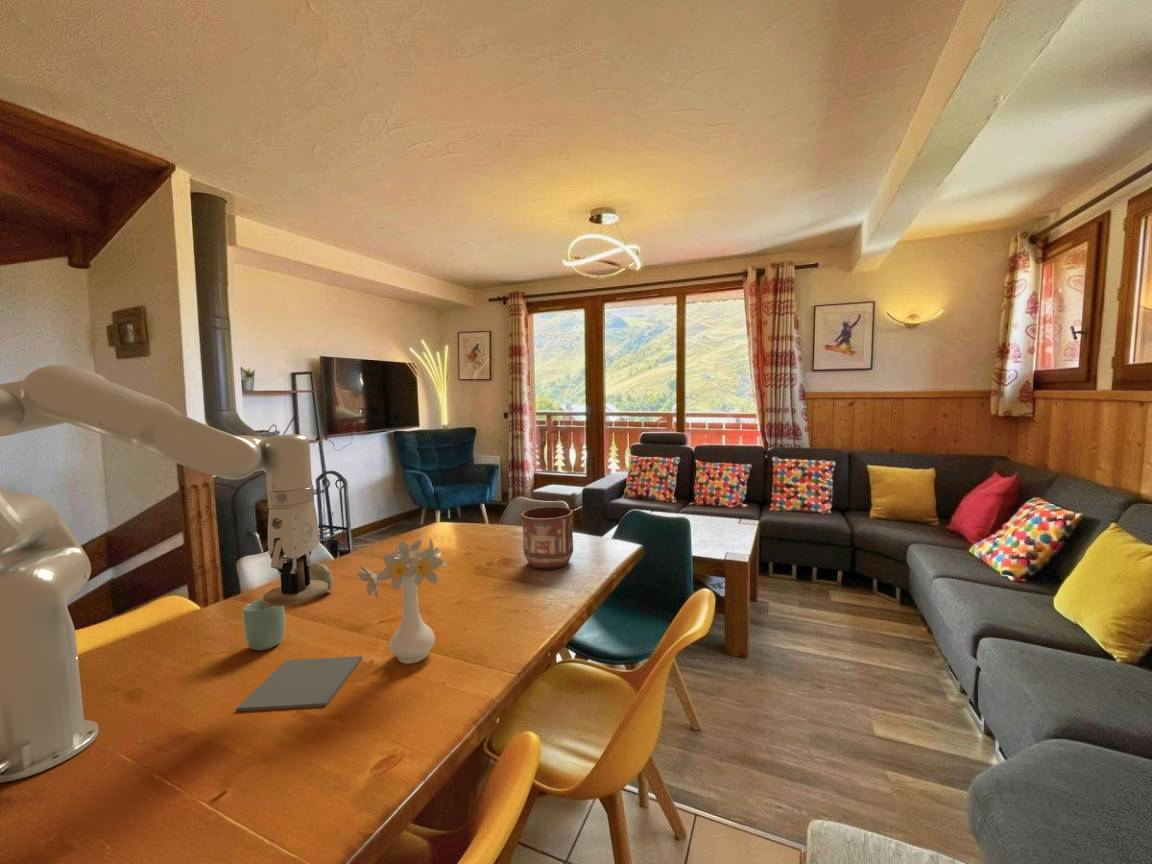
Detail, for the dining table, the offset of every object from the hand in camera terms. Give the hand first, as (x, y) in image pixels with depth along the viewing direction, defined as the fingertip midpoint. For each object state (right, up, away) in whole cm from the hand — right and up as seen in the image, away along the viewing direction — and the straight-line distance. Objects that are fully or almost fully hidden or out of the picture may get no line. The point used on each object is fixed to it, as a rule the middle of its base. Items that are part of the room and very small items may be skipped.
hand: (296, 588), depth 92 cm
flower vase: (+20, -18, +8) cm, 28 cm away
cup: (-16, -19, +16) cm, 30 cm away
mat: (+1, -19, +1) cm, 19 cm away
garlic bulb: (-21, -17, +46) cm, 53 cm away
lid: (0, -1, 0) cm, 1 cm away
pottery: (+46, -14, +66) cm, 82 cm away
